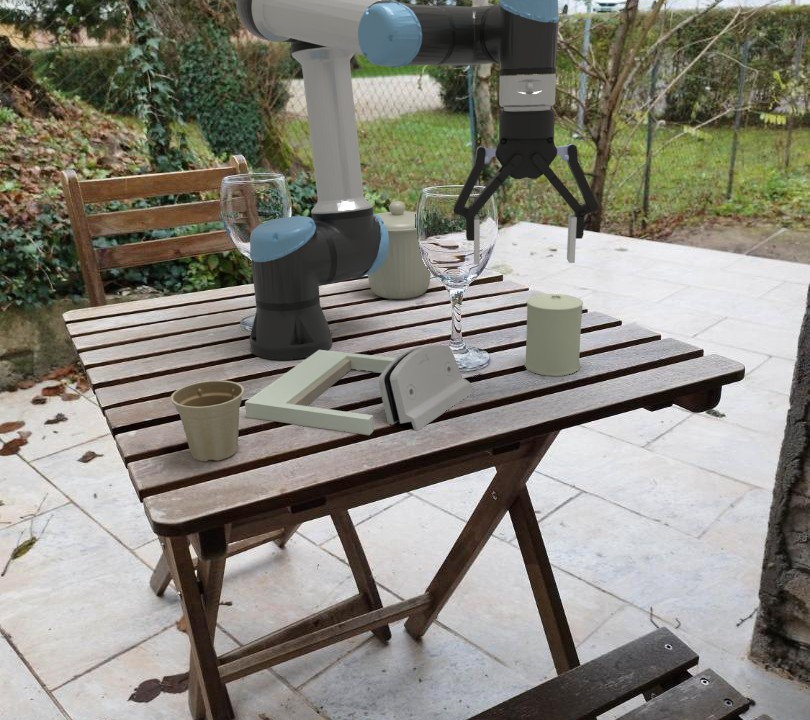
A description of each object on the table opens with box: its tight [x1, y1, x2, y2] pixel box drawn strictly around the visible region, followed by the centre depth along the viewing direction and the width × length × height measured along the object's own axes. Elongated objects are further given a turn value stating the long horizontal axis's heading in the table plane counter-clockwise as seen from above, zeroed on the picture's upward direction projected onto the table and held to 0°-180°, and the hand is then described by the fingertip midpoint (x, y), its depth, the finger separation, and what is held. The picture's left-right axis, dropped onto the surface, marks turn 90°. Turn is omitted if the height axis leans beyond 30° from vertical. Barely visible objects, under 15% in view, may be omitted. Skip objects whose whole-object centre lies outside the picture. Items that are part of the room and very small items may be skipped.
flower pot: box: [170, 379, 245, 462], centre depth 102 cm, size 9×9×9 cm
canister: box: [367, 200, 432, 300], centre depth 172 cm, size 18×18×21 cm
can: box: [524, 293, 584, 377], centre depth 128 cm, size 9×9×12 cm
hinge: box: [377, 344, 474, 432], centre depth 114 cm, size 17×5×10 cm, turn 146°
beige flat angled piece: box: [244, 350, 397, 436], centre depth 120 cm, size 20×24×2 cm
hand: (523, 262), depth 111 cm, fingers open, 13 cm apart
